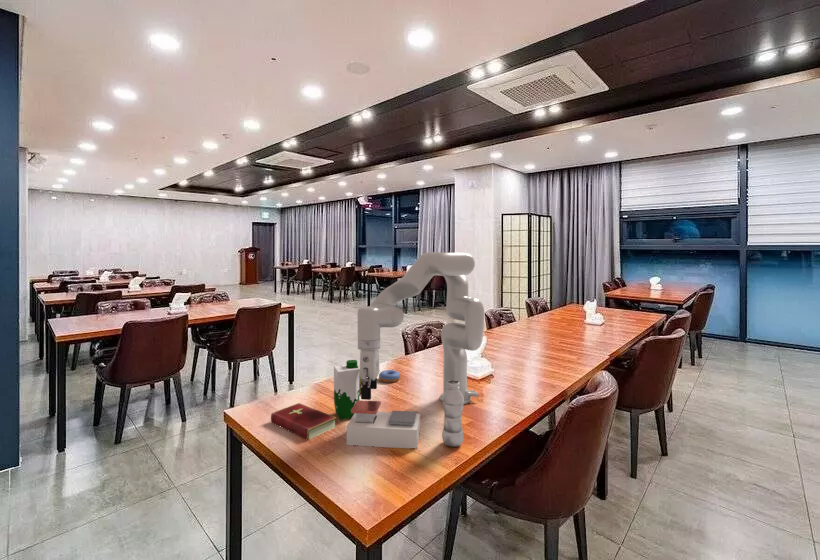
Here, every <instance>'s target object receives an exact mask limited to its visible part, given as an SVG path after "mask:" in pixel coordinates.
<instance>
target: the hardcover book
mask: <svg viewBox="0 0 820 560" xmlns="http://www.w3.org/2000/svg"><path fill="white" fill-rule="evenodd" d="M337 417H338V416H337ZM337 417H336V416H333V415H331V414H328V413H326V412H323V411H321V410H318V409H316V408H313V407H310V406H308V405H306V404H303V403H301V402H298V403H295V404H292V405H289V406H287V407H284V408H282V409H279V410H276V411H274V412H271V414H270V422H272V423H271V424H273V423H274V424H273V425H275V424H276V426H277V425H278V426H277V427H279V426H281V427H283V428H285V429H286V431H288V430H289V431H288V432H290V433H291V434H294V433H295V434H294V435H296V434H297V435H296V436H298V435H299V437H300V436H301V437H300V438H302V437H303V439H304V438H305V440H306V439H307V440H306V441H310V440H311V439H314V438H316V437H318V436H320V435H321V434H324V433H326V432H328V431H331V430H332V429H335V428H336V420H337V419H338V418H337ZM281 427H280V428H281ZM283 428H282V429H283ZM285 429H284V430H285ZM317 435H318V436H317ZM315 436H316V437H315ZM313 437H314V438H313Z"/></svg>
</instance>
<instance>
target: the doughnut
mask: <svg viewBox="0 0 820 560" xmlns="http://www.w3.org/2000/svg"><path fill="white" fill-rule="evenodd" d="M378 378H379V381H381V382H382V383H385V382H386V383H387V384H390V383H391V382H393V383H396V382H398V381H399V380H400V378H401V374H400V372H398V371H397V370H394V369H386V370H382V371H380V372H379V374H378Z"/></svg>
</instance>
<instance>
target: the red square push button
mask: <svg viewBox="0 0 820 560" xmlns="http://www.w3.org/2000/svg"><path fill="white" fill-rule="evenodd" d="M381 404H382V403H381V401H380V400H362V399H361V400H360V399H359V400H357V402H356V403H355V405H354V406H353V408H352V409H351V413H356V423H374V422H375V420H376V413H377V412H379V409H380V406H381Z"/></svg>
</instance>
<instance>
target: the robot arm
mask: <svg viewBox="0 0 820 560" xmlns="http://www.w3.org/2000/svg"><path fill="white" fill-rule="evenodd" d="M475 263H476V262H475V258H474V257H473V256H472V254H470V253H468V252H445V251H444V252H439V251H436V252H435V251H434V252H432V251H430V252H428V251H427V252H424V253H422V254H420V256H419V257H418V258H417V259H416V261H415V262H414V263H413V264H412V265H411V266H410V267H409V269H408V270H407V272H405V274H404V275H403V276H402V277H401V278H400V279H399V280H397V281H395V282H394V283H392V284H391V285H389V286H387V287H386V288H384V289H383V290H382V291H381V292H379V294H378V295H377V296H376V297H375V298H374V300H373V301H372V302H371V304H369V306H361V307H359V308H358V309H357V312H356V313H357V314H356V315H357V318H356V319H357V349H358V350H359V352H360V354H359V355H360V356H359V369H360V379H361V380H362V382H361V394H360V399H361V400H362V401H371V399H372V390H378V389H377V388H378V381H377V380H378V379H377V378H378V377H379V374H380V372H381V370H380V353H379V352H380V351H379V350H380V349H381V328H396V327H398V326H400V325H401V324H402V322H403V321H404V316H405V314H404V312H403V310H402V309H401V308H400V307H398V306H397V305H396V304H397V303H399V302H401V301H403V300H405V299H406V300H407V299H410V298H412V297H415V296H417V295H420V294H421V293H422V291H423V290H424V288H425V287H426V286H427V285H428V283H429V282H431V279H433V277H434V276H439V277H440V276H442V277H443V278H444V280H445V282H446V289H447V290H446V305H445V310H446V311H445V312H446V315H447V316H448V317H449V318H450V319H453V320H455V321H462V322H464V323H460V322H454V321H451V322H447V323H445V324H444V325H443V326H442V328H441V332H440V338H441V343H442V349H443V351H442V352H443V370H442V371H443V376H442V377H443V381H442V382H443V385H442V386H443V388H442V389H443V391H442V393H440V395H439V401H441V402H442V403H443V396H444V394H445V392H446V391H447V390H448V388H447V382H448V381H449V380H456V381H459V386H460V388H459V390H460V392H461V393H462V395H463V397H464V404H463V405H467V404H468V403H470V402H471V399H472V398H478V397H479V392H478V391H476V390H470V389H469V388H468V355H467V352H466V351H471V352H473V351H477V350H478V349H480V347H482V343H483V341H484V340H483V339H484V327H485V308H484V304H483V302H482V301H481V300H479V299H478V298H477V297H469V280H468V279H467V277H466V276H467V275H470V274H471V273H472V272H473V271H474V269H475V266H476V265H475ZM367 381H368V382H367ZM471 397H472V398H471Z"/></svg>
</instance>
